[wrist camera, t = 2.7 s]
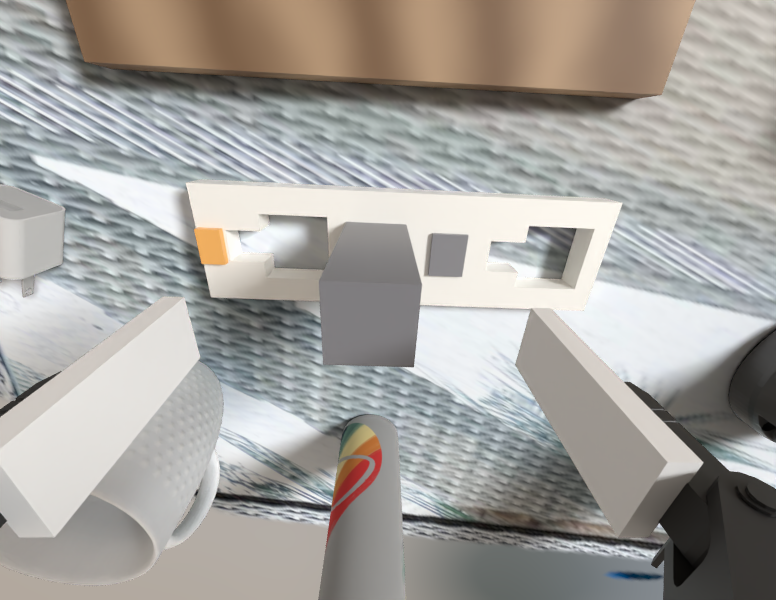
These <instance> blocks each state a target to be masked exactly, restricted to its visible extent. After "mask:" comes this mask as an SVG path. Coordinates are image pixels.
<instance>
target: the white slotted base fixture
mask: <svg viewBox="0 0 776 600" xmlns="http://www.w3.org/2000/svg"><path fill="white" fill-rule="evenodd" d="M186 186H187V190H188V195H189V199H190V204H191V208H192V213H193V218H194V222H195V227H196V228H195V229H194V232H195V236H196V241H197V245H198V250H199V254H200V258H201V263H202V264H204V267H205V272H206V276H207V281H208V286H209V290H210V295H211V297H215V298H242V299H269V300H297V301H320V313H321V332H322V351H323V364H325V365H357V366H390V367H414V359H415V349H416V340H417V330H418V320H419V310H420V305H434V306H462V307H489V308H517V309H531V308H551V309H552V310H572V311H584V309H585V306H586V303H587V300H588V298H589V295H590V292H591V289H592V287H593V284H594V281H595V278H596V275H597V273H598V270H599V267H600V264H601V262H602V259H603V256H604V253H605V250H606V248H607V245H608V242H609V239H610V237H611V234H612V231H613V228H614V225H615V223H616V220H617V217H618V214H619V212H620V209H621V206H622V203H620V202H617V201H613V200H609V199H605V198H591V197H569V196H548V195H527V194H506V193H484V192H463V191H442V190H421V189H399V188H378V187H357V186H336V185H315V184H293V183H272V182H251V181H230V180H208V179H201V180H196V181H191V182H187V183H186ZM269 215H291V216H314V217H327V226H328V253H329V260H328V262H327V264H326V266H325V268H324V270H320V269H295V268H275V264H274V255H273V253H250V252H242V250H241V244H240V238H239V232H238V230H239V231H262V230H263V229H264V228H266V227H267V226H268V225H270V221H269ZM529 226H540V227H563V228H577V230H576V233H575V236H574V239H573V243H572V246H571V249H570V252H569V256H568V259H567V262H566V265H565V269H564V272H563V275H562V278H561V279H549V278H524V277H517V274H518V272H517V271H516V270H515V269H514V268H513V267H512V266H511V265H510V264H509V263H496V262H487V261H488V256H489V251H490V245H491V241H497V242H521V243H525V241H526V237H527V233H528V229H529Z"/></svg>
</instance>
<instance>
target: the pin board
mask: <svg viewBox="0 0 776 600" xmlns="http://www.w3.org/2000/svg"><path fill="white" fill-rule="evenodd" d="M66 3H67V6H68V9H69V12H70V16H71V19H72V22H73V26H74V29H75V32H76V35H77V39H78V42H79V45H80V49H81V52H82V55H83V58H84V62H87V63H91V64H95V65H99V66H103V67H106V68H110V69H120V70H138V71H155V72H173V73H191V74H208V75H226V76H244V77H261V78H279V79H297V80H314V81H332V82H350V83H367V84H385V85H403V86H420V87H438V88H456V89H473V90H491V91H509V92H526V93H544V94H561V95H579V96H597V97H614V98H632V99H639V98H645V97H651V96H657V95H662V92H663V89H664V86H665V84H666V81H667V78H668V75H669V73H670V70H671V67H672V64H673V61H674V59H675V56H676V53H677V50H678V48H679V45H680V42H681V39H682V36H683V34H684V31H685V28H686V25H687V23H688V20H689V17H690V14H691V11H692V9H693V6H694V3H695V0H66Z"/></svg>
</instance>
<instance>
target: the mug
mask: <svg viewBox="0 0 776 600" xmlns="http://www.w3.org/2000/svg"><path fill="white" fill-rule="evenodd" d="M223 405H224V403H223V393H222V388H221V385H220V382H219V380H218V378H217V376H216V375H215V373H214V372H213V371H212V370H211V369H210V368H209V367H208V366H206V365H205V364H204V363H202V362H200V361H197V362H196V364H195V365H194V366H193V367H192V368H191V370H190V371H189V372H188V373H187V375H186V376H185V377H184V378H183V380H182V381H181V382H180V383H179V385H178V386H177V387H176V388H175V389H174V391H173V392H172V393H171V394H170V396H169V397H168V398H167V399H166V401H165V402H164V403H163V404H162V406H161V407H160V408H159V409H158V410H157V412H156V413H155V414H154V415H153V417H152V418H151V419H150V420H149V422H148V423H147V424H146V425H145V427H144V428H143V429H142V430H141V431H140V433H139V434H138V435H137V436H136V438H135V439H134V440H133V441H132V443H131V444H130V445H129V446H128V448H127V449H126V450H125V451H124V452H123V454H122V455H121V456H120V457H119V459H118V460H117V461H116V462H115V464H114V465H113V466H112V467H111V469H110V470H109V471H108V472H107V473H106V475H105V476H104V477H103V478H102V480H101V481H100V482H99V483H98V485H97V486H96V487H95V488H94V489H93V491H92V492H91V493H90V494H89V496H88V497H87V498H86V499H85V501H84V502H83V503H82V504H81V506H80V507H79V508H78V509H77V510H76V512H75V513H74V514H73V515H72V517H71V518H70V519H69V520H68V522H67V523H66V524H65V525H64V527H63V528H62V529H61V530H60V531H59V533H58V534H57V535H56V536H55V537H18V535H17V534H16V533H15V532H14V531H13V529H12V528H11V527H10V526H9V525H8V524H7V522H6V523H5V524H4V525H3V526H2V527H1V528H0V565H1V566H3V567H5V568H7V569H10V570H13V571H16V572H18V573H21V574H24V575H27V576H31V577H35V578H38V579H43V580H48V581H52V582H59V583H64V584H72V585H84V586H99V585H100V586H103V585H111V584H118V583H123V582H127V581H130V580H133V579H135V578H138V577H140V576H142V575H143V574H145V573H146V572H148V571H149V570H150V569H151V568H152V567H153V566H154V564H155V563H156V561H157V560H158V558H159V556H160V555H161V553H162V551H163V550H167V549H171V548H173V547H176V546H178V545H180V544H181V543H182V542H184V541H185V540H187V539H188V538H189V537H190V536H191V535H192V534H193V533H194V532H195V531H196V529H197V528H198V527H199V525H200V524H201V523H202V521H203V520H204V518H205V517H206V515H207V513H208V511H209V509H210V507H211V505H212V503H213V500H214V498H215V495H216V492H217V488H218V484H219V478H220V465H219V459H218V456H217V452H216V450H215V447H216V441H217V440H218V436H219V433H220V427H221V424H222V416H223ZM200 482H201V483H200ZM199 484H200V488H199V491H198V494H197V497H196V499H195V502H194V504H193V505H192V507H191V509H190V511H189V512H188V514H187V516H186V517H185V518H184V520H183V521H182V522H181V524H180V525H179V526H178V527H177V528H176V526H177V525H178V523H179V522H180V519H181V518H182V517H183V515H184V512H185V510H186V508H187V506H188V504H189V503H190V501H191V500H192V497H193V496H194V494H195V492H196V489H197V487H198V485H199ZM175 528H176V529H175Z"/></svg>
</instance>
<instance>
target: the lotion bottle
mask: <svg viewBox="0 0 776 600" xmlns="http://www.w3.org/2000/svg"><path fill="white" fill-rule="evenodd" d="M318 600H406V593H405V569H404V548H403V526H402V505H401V483H400V462H399V443H398V434H397V430H396V428H395V426H394V425H393V423H392V422H390V421H389V420H388V419H386V418H384V417H382V416H378V415H362V416H358V417H356V418H354V419H352V420H351V421H350V422H349V423H348V424H347V425H346V426H345V428H344V431H343V434H342V439H341V446H340V452H339V459H338V466H337V473H336V480H335V487H334V494H333V501H332V508H331V515H330V522H329V529H328V537H327V543H326V550H325V557H324V564H323V571H322V578H321V585H320V592H319V599H318Z"/></svg>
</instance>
